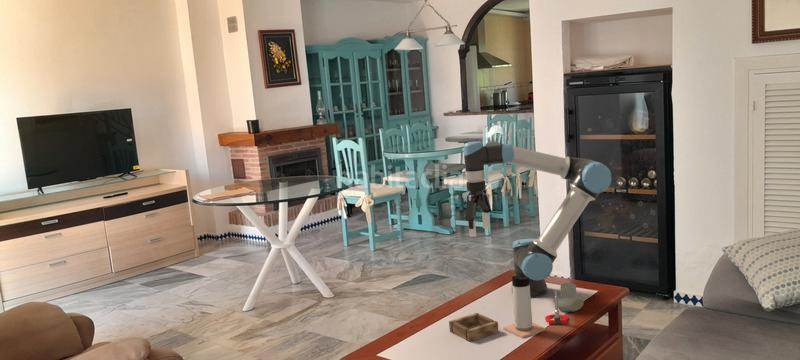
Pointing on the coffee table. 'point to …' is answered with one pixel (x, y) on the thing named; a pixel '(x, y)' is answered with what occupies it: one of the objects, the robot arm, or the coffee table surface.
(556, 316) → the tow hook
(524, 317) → the travel mug
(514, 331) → the terracotta tile
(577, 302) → the air freshener
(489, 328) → the wooden tray
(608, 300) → the coffee table surface
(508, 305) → the coffee table surface
